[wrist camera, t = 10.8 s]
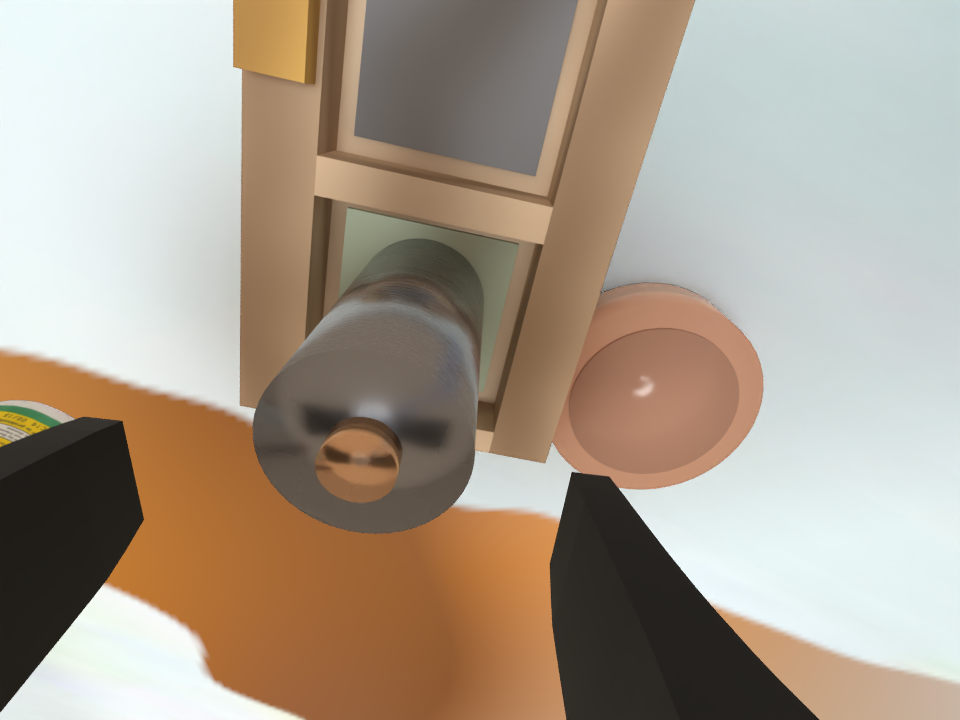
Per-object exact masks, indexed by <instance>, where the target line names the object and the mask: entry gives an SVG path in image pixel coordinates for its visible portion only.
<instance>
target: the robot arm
mask: <svg viewBox="0 0 960 720" xmlns="http://www.w3.org/2000/svg"><path fill="white" fill-rule="evenodd" d="M143 520H144V518H143V513H142V509H141V504H140V499H139V495H138V490H137V486H136V481H135V477H134V473H133V467H132V463H131V458H130V454H129V449H128V444H127V440H126V435H125V431H124V426H123V422H122V421H117V420H109V419H100V418H91V417H81V418H78V419H75V420H72V421H68V422H65V423H62V424H59V425H56V426H54V427H51V428H48V429H45V430H43V431H40V432H37V433H35V434H32V435H29V436H27V437H24V438H21V439H19V440H16V441H14V442H11V443H9V444H6V445H4V446H1V447H0V712H1V711H2V710H3V709H4V707H5V706H6V705H7V704H8V702H9V701H10V700H11V699H12V697H13V696H14V695H15V694H16V692H17V691H18V690H19V689H20V687H21V686H22V685H23V684H24V683H25V681H26V680H27V679H28V678H29V676H30V675H31V674H32V673H33V671H34V670H35V669H36V668H37V666H38V665H39V664H40V663H41V662H42V660H43V659H44V658H45V657H46V655H47V654H48V653H49V652H50V650H51V649H52V648H53V647H54V646H55V644H56V643H57V642H58V641H59V639H60V638H61V637H62V636H63V634H64V633H65V632H66V631H67V629H68V628H69V627H70V626H71V624H72V623H73V622H74V621H75V619H76V618H77V617H78V616H79V614H80V613H81V612H82V611H83V609H84V608H85V607H86V606H87V604H88V603H89V602H90V601H91V599H92V598H93V597H94V595H95V594H96V593H97V592H98V590H99V589H100V588H101V586H102V585H103V584H104V583H105V581H106V580H107V579H108V577H109V576H110V574H111V573H112V571H113V569H114V568H115V566H116V565H117V563H118V561H119V560H120V559H121V557H122V555H123V554H124V552H125V551H126V549H127V547H128V546H129V544H130V542H131V541H132V539H133V537H134V536H135V534H136V532H137V530H138V529H139V527H140V525H141V524H142V522H143ZM550 583H551V608H552V626H553V633H554V641H555V647H556V654H557V661H558V667H559V673H560V681H561V687H562V694H563V700H564V707H565V712H566V719H567V720H819V719H818V718H817V717H816V716H815V715H814V714H813V713H812V712H811V711H810V710H809V709H808V708H807V707H806V706H805V705H804V704H803V703H802V702H801V701H800V700H799V699H798V698H797V697H796V696H795V695H794V694H793V693H792V692H791V691H790V690H789V689H788V688H787V687H786V686H785V685H784V684H783V683H782V682H781V681H780V680H779V679H778V678H777V677H776V676H775V675H774V674H773V673H772V672H771V671H770V670H769V669H768V668H767V667H766V665H764V663H763V662H762V661H761V660H760V659H759V658H758V657H757V656H756V655H755V654H754V653H753V652H752V651H751V649H750V648H749V647H748V646H747V645H746V644H745V643H744V642H743V641H742V639H741V638H740V637H739V636H738V635H737V634H736V633H735V632H734V630H733V629H732V628H731V627H730V626H729V625H728V624H727V623H726V622H725V620H723V618H722V617H721V616H720V615H719V614H718V613H717V612H716V610H715V609H714V608H713V607H712V606H711V605H710V603H709V602H708V601H707V600H706V599H705V598H704V596H703V595H702V594H701V593H700V592H699V591H698V589H697V588H696V587H695V586H694V585H693V583H692V582H691V581H690V580H689V578H688V577H687V576H686V575H685V574H684V572H683V571H682V570H681V569H680V567H679V566H678V565H677V564H676V562H675V561H674V560H673V559H672V558H671V556H670V555H669V554H668V552H667V551H666V550H665V549H664V547H663V546H662V545H661V544H660V542H659V541H658V540H657V538H656V537H655V536H654V534H653V533H652V532H651V531H650V529H649V528H648V527H647V525H646V524H645V523H644V521H643V520H642V519H641V517H640V516H639V515H638V513H637V512H636V511H635V510H634V508H633V507H632V506H631V504H630V503H629V502H628V500H627V499H626V498H625V496H624V495H623V494H622V492H621V491H620V490H619V488H618V487H617V486H616V484H615V483H614V482H613V481H612V479H611V478H610V477H609V476H602V475H593V474H584V473H575V472H572V474H571V478H570V482H569V486H568V490H567V494H566V499H565V503H564V507H563V511H562V515H561V520H560V524H559V528H558V532H557V536H556V541H555V545H554V549H553V553H552V557H551V561H550Z"/></svg>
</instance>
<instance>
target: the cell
mask: <svg viewBox="0 0 960 720" xmlns="http://www.w3.org/2000/svg"><path fill="white" fill-rule="evenodd" d="M483 313H484V293H483V289H482V285H481V282H480V279H479V277H478V275H477V273H476V271H475V269H474V268H473V267H472V265H471V264H470V263H469V262H468V261H467V259H466V258H465V257H464V256H462V255H461V254H460V253H459V252H458V251H456V250H454V249H453V248H451V247H450V246H447V245H445V244H443V243H440V242H437V241H434V240H429V239H418V238H415V239H406V240H402V241H398V242H395V243H393V244H391V245H389V246H387V247H385V248H383V249H382V250H381V251H379V252H378V253H377V254H376V255H375V256H374V257H373V258H372V259H371V260H370V261H369V263H368V264H367V265H366V266H365V268H364V269H363V270H362V271H361V272H360V274H359V275H358V276H357V277H356V279H355V280H354V281H353V282H352V283H351V285H350V286H349V287H348V288H347V290H346V291H345V292H344V293H343V295H342V296H341V297H340V298H339V299H338V301H337V302H336V303H335V304H334V306H333V307H332V308H331V309H330V310H329V312H328V313H327V314H326V315H325V317H324V318H323V319H322V320H321V321H320V323H319V324H318V325H317V326H316V328H315V329H314V330H313V331H312V332H311V334H310V335H309V336H308V337H307V339H306V340H305V341H304V342H303V343H302V345H301V346H300V347H299V348H298V350H297V351H296V352H295V353H294V354H293V356H292V357H291V358H290V359H289V361H288V362H287V363H286V364H285V366H284V367H283V368H282V369H281V370H280V372H279V373H278V374H277V375H276V377H275V378H274V379H273V380H272V381H271V383H270V384H269V385H268V387H267V388H266V389H265V391H264V392H263V394H262V396H261V398H260V400H259V402H258V405H257V408H256V411H255V414H254V421H253V441H254V447H255V451H256V454H257V457H258V460H259V463H260V465H261V467H262V469H263V471H264V473H265V475H266V476H267V477H268V479H269V480H270V482H271V484H272V485H273V486H274V487H275V488H276V489H277V491H278V492H279V493H280V494H281V495H282V496H283V497H284V498H285V499H286V500H287V501H289V502H290V503H291V504H292V505H294V506H295V507H296V508H298V509H299V510H300V511H302V512H304V513H305V514H307V515H309V516H310V517H312V518H314V519H316V520H319V521H321V522H323V523H325V524H328V525H331V526H334V527H336V528H340V529H344V530H348V531H354V532H361V533H374V534H377V533H392V532H399V531H404V530H408V529H412V528H415V527H417V526H420V525H423V524H425V523H427V522H429V521H431V520H433V519H435V518H437V517H438V516H439V515H441V514H442V513H444V512H445V511H446V510H447V509H449V508H450V507H451V506H452V505H453V504H454V503H455V502H456V500H457V499H458V498H459V497H460V495H461V494H462V493H463V491H464V489H465V487H466V486H467V484H468V482H469V479H470V476H471V474H472V470H473V465H474V456H475V441H476V425H477V409H478V393H479V377H480V361H481V345H482V329H483Z"/></svg>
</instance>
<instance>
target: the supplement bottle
mask: <svg viewBox="0 0 960 720" xmlns="http://www.w3.org/2000/svg"><path fill="white" fill-rule="evenodd" d="M72 420H75V419H74V418H73V417H71V416H69V415H68V414H66V413H64V412H62V411H60V410H58V409H56V408H53V407H51V406H48V405H45V404H42V403H38V402H34V401H25V400H9V401H1V402H0V447H1V446H4V445H6V444H9V443H11V442H14V441H16V440H19V439H21V438H24V437H27V436H29V435H32V434H35V433H37V432H40V431H43V430H45V429H48V428H51V427H54V426H56V425H59V424H62V423H65V422H68V421H72Z"/></svg>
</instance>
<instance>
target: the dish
mask: <svg viewBox="0 0 960 720" xmlns="http://www.w3.org/2000/svg"><path fill="white" fill-rule="evenodd" d="M762 395H763V374H762V369H761V364H760V361H759V358H758V356H757V353H756V351H755V349H754V348H753V346H752V344H751V343H750V341H749V340H748V339H747V337H746V336H745V335H744V334H743V333H742V331H740V330H739V329H738V328H737V327H736V326H735V325H734V324H733V323H732V322H731V321H730V320H729V319H727V318H726V317H725V316H724V315H723V314H722V313H721V312H720V311H719V310H718V309H717V308H715V307H714V306H713V305H712V304H711V303H710V302H709V301H707V300H706V299H704V298H703V297H701V296H699V295H698V294H696V293H694V292H692V291H689V290H687V289H685V288H681V287H678V286H674V285H669V284H662V283H638V284H630V285H626V286H621V287H617V288H614V289H611V290H609V291H606V292H603V293H601V294H600V295H599V298H598V302H597V305H596V308H595V311H594V314H593V317H592V320H591V323H590V326H589V329H588V332H587V335H586V339H585V342H584V345H583V348H582V351H581V354H580V357H579V360H578V363H577V366H576V369H575V373H574V376H573V379H572V382H571V385H570V388H569V391H568V394H567V397H566V400H565V403H564V406H563V410H562V413H561V416H560V419H559V422H558V425H557V428H556V431H555V434H554V437H553V440H552V442H553V444H554V445H555V447H556V449H557V450H558V452H559V453H560V454H561V455H562V457H563V458H564V459H565V460H566V461H567V462H568V463H569V464H570V465H571V466H572V467H574V468H575V469H576V470H578V471H579V472H581V473H584V474H593V475H602V476H609V477H610V478H611V479H612V481H613V482H614V483H615V484H616V486H617V487H619V488H626V489H656V488H662V487H667V486H672V485H675V484H679V483H683V482H685V481H688V480H690V479H693V478H695V477H697V476H699V475H701V474H703V473H705V472H707V471H709V470H710V469H712V468H713V467H715V466H716V465H718V464H719V463H721V462H722V461H723V460H724V459H725V458H727V457H728V456H729V455H730V454H731V453H732V452H733V451H734V450H735V449H736V448H737V447H738V446H739V445H740V444H741V442H742V441H743V440H744V438H745V437H746V436H747V434H748V433H749V431H750V429H751V428H752V426H753V424H754V422H755V420H756V417H757V415H758V413H759V409H760V406H761V402H762Z"/></svg>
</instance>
